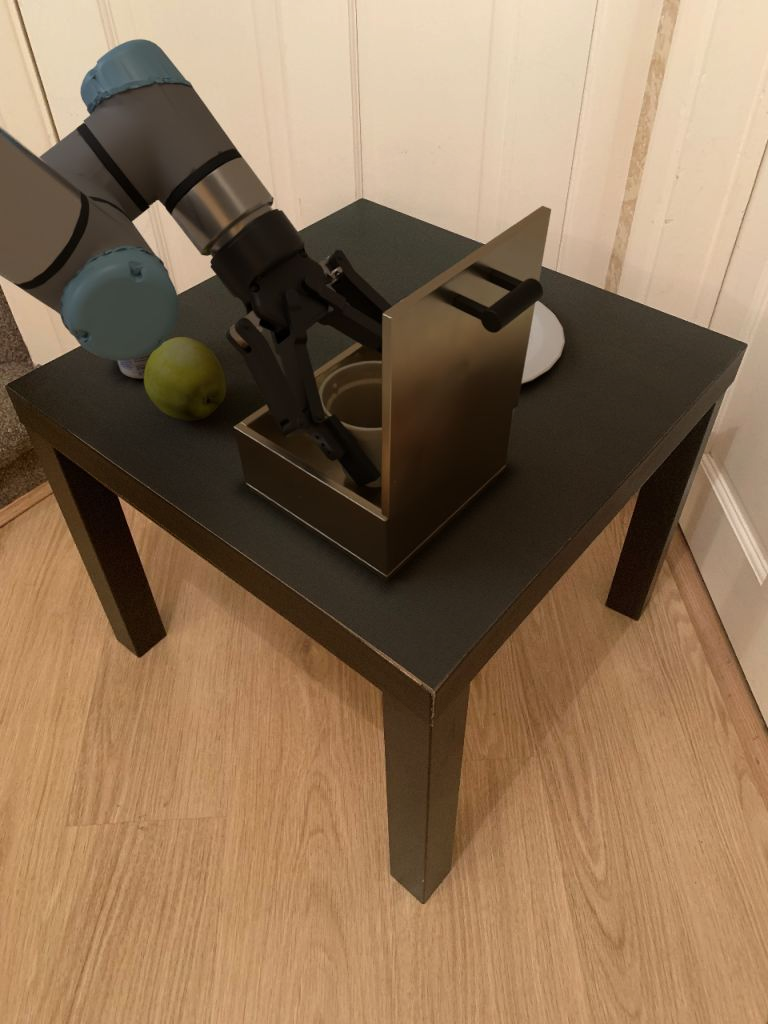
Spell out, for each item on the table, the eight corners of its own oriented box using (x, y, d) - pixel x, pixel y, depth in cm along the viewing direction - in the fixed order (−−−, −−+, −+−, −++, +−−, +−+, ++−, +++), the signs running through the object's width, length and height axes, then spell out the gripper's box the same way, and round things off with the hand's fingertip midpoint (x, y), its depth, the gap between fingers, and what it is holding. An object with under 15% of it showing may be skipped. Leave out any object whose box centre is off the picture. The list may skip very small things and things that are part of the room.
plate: (454, 275, 100) (454, 263, 99) (598, 336, 91) (600, 323, 90) (341, 350, 90) (340, 338, 89) (490, 428, 80) (491, 416, 79)
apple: (198, 374, 88) (183, 312, 82) (247, 412, 83) (235, 349, 77) (137, 406, 84) (117, 343, 78) (185, 448, 79) (167, 384, 74)
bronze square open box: (246, 488, 75) (233, 426, 70) (368, 397, 84) (365, 335, 79) (387, 582, 67) (385, 520, 62) (505, 470, 76) (513, 408, 71)
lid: (381, 313, 48) (441, 343, 46) (542, 205, 57) (598, 226, 55) (381, 514, 62) (427, 544, 60) (510, 402, 70) (554, 425, 68)
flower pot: (446, 463, 74) (450, 391, 68) (376, 517, 70) (374, 445, 64) (374, 419, 79) (372, 347, 73) (304, 467, 74) (295, 395, 68)
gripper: (303, 202, 74) (441, 394, 80) (127, 315, 62) (305, 532, 67) (345, 158, 68) (492, 369, 74) (160, 273, 56) (352, 516, 61)
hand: (403, 447), depth 70 cm, fingers closed on flower pot, 9 cm apart
